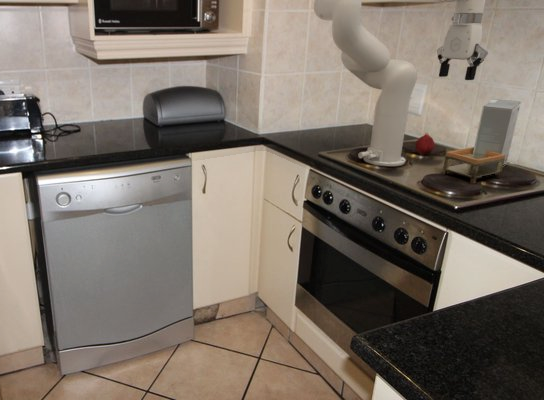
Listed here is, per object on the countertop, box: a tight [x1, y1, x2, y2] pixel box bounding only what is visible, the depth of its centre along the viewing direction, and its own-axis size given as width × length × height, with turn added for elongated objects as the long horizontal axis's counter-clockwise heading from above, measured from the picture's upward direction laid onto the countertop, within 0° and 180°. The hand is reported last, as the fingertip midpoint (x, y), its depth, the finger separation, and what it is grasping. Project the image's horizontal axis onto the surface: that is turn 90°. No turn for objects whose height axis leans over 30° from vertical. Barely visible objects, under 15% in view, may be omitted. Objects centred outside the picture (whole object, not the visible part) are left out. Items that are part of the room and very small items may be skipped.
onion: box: [414, 132, 435, 156], centre depth 161 cm, size 6×6×8 cm
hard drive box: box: [473, 98, 522, 176], centre depth 146 cm, size 16×8×20 cm, turn 139°
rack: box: [441, 146, 506, 185], centre depth 141 cm, size 12×10×7 cm
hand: (455, 78), depth 150 cm, fingers open, 9 cm apart
